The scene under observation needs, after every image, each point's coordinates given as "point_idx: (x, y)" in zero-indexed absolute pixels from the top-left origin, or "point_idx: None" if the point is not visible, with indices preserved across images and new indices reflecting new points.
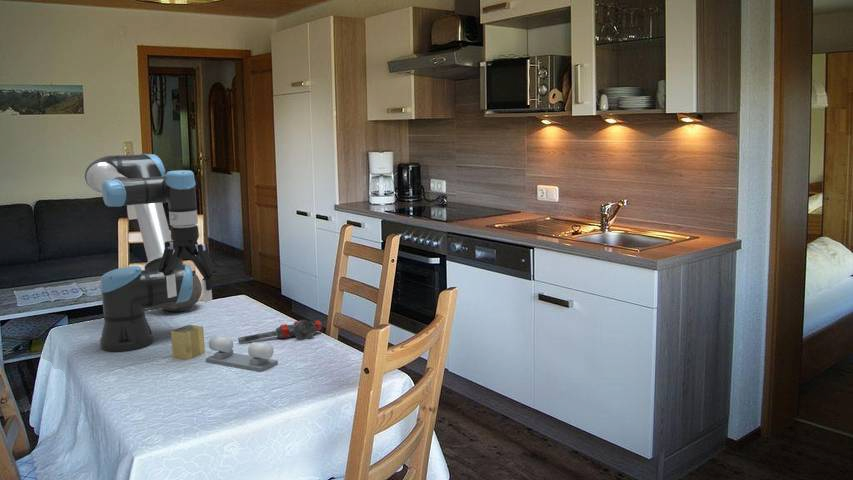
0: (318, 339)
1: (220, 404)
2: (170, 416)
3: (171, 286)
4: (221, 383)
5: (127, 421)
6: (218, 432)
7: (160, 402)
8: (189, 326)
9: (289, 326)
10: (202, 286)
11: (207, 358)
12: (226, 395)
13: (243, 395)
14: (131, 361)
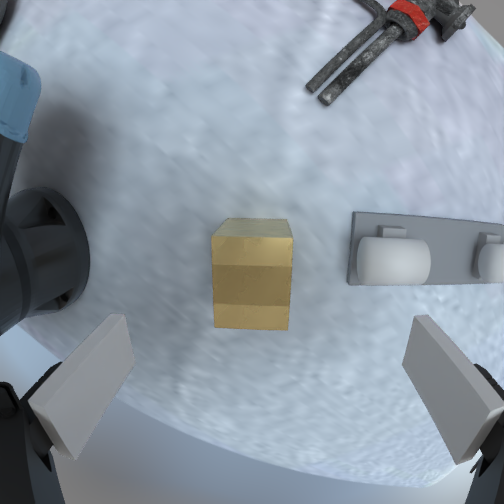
0: (472, 33)
1: None
2: (425, 452)
3: (103, 386)
4: None
5: (380, 478)
6: None
7: (389, 443)
8: (235, 258)
9: (422, 9)
10: (439, 428)
11: (353, 283)
12: None
13: (492, 372)
14: (157, 344)
